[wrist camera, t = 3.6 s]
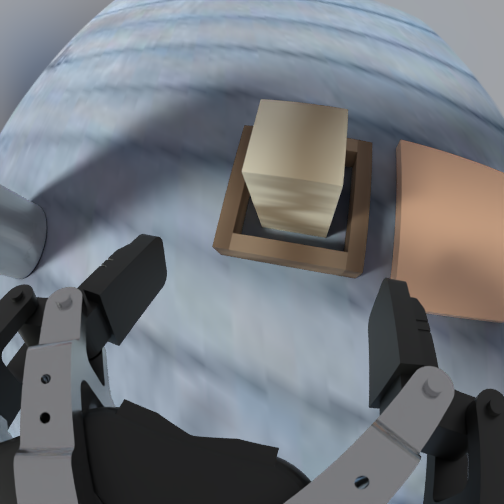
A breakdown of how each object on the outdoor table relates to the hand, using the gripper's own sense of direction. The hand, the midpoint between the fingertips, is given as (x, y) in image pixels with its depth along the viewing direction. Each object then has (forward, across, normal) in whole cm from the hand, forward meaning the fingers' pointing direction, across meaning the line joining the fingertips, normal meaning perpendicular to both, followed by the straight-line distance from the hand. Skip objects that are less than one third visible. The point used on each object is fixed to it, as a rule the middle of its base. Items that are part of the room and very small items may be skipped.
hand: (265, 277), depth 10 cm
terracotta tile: (+14, -14, +3) cm, 20 cm away
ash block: (+14, 0, +3) cm, 14 cm away
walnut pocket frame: (+14, 0, +3) cm, 14 cm away
